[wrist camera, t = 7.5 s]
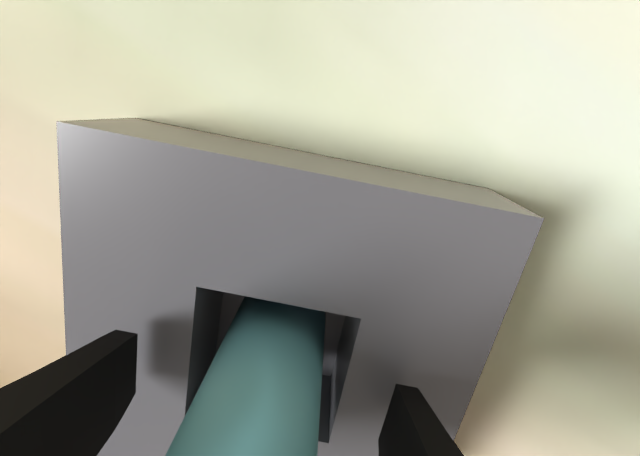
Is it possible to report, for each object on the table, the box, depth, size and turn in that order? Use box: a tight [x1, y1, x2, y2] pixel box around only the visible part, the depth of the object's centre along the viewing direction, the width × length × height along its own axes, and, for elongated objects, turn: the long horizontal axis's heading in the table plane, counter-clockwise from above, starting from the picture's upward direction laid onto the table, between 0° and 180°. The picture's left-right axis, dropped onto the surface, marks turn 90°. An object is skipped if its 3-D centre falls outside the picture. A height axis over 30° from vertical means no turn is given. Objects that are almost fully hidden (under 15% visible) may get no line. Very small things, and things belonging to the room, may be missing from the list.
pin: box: [165, 296, 326, 456], centre depth 10 cm, size 3×3×8 cm
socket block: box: [57, 118, 544, 456], centre depth 12 cm, size 12×12×4 cm
